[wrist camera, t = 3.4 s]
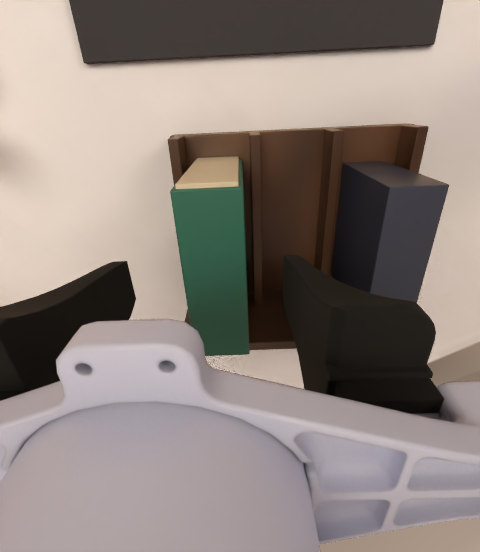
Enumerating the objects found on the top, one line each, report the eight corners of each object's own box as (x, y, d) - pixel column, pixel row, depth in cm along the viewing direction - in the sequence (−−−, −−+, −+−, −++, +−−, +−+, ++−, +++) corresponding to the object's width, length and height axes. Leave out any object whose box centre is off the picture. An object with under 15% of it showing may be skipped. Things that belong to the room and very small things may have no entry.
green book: (241, 155, 19) (243, 182, 12) (246, 282, 24) (249, 354, 17) (194, 157, 19) (168, 185, 12) (207, 283, 24) (194, 356, 17)
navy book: (383, 160, 20) (449, 184, 13) (364, 271, 23) (409, 330, 17) (342, 162, 20) (389, 187, 13) (330, 273, 23) (362, 331, 17)
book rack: (406, 123, 20) (486, 130, 13) (375, 285, 25) (420, 344, 19) (172, 134, 20) (141, 147, 14) (194, 292, 26) (179, 352, 19)
